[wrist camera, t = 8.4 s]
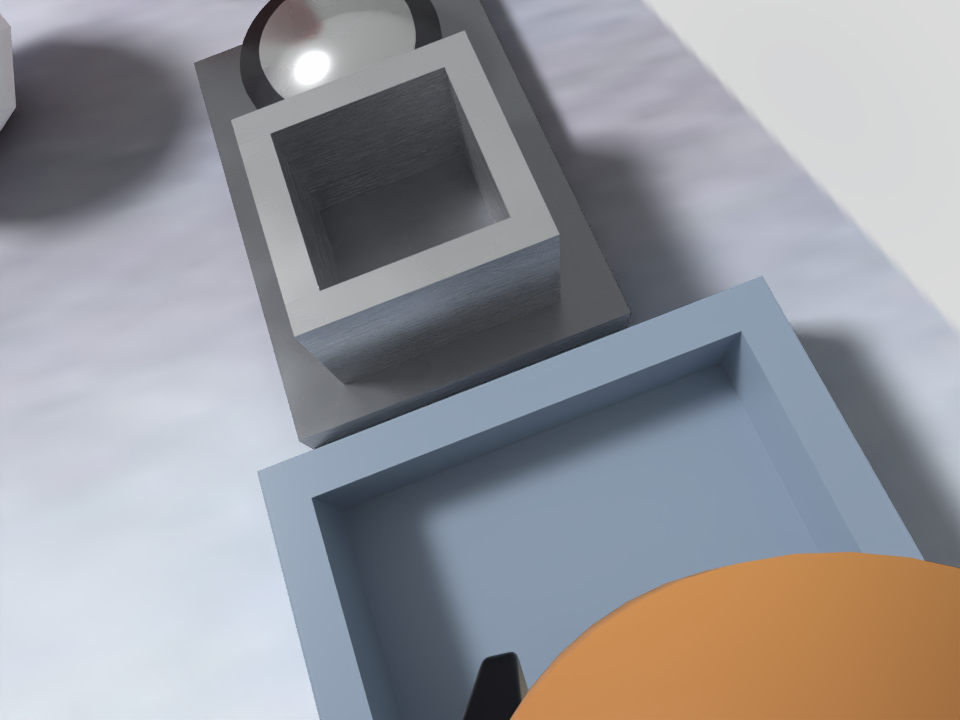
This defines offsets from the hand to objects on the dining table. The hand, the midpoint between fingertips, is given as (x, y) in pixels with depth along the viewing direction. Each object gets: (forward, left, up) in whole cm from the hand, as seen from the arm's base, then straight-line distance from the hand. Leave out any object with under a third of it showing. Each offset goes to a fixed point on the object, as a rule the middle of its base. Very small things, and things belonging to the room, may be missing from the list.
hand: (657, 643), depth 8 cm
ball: (+22, +14, -9) cm, 27 cm away
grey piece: (+13, +1, -8) cm, 16 cm away
